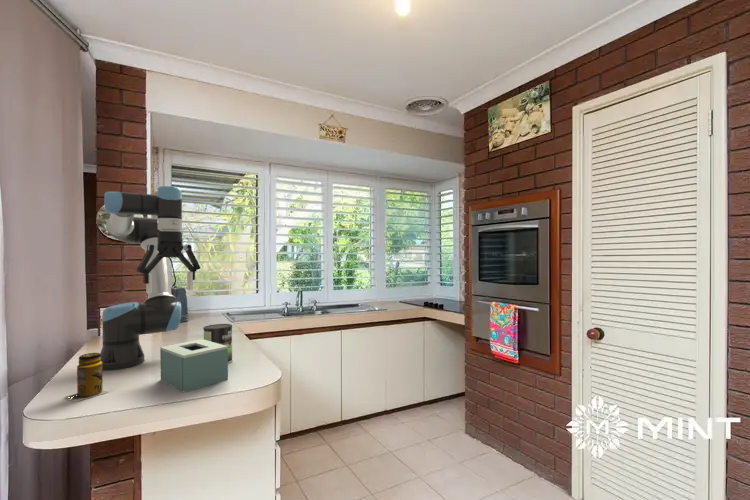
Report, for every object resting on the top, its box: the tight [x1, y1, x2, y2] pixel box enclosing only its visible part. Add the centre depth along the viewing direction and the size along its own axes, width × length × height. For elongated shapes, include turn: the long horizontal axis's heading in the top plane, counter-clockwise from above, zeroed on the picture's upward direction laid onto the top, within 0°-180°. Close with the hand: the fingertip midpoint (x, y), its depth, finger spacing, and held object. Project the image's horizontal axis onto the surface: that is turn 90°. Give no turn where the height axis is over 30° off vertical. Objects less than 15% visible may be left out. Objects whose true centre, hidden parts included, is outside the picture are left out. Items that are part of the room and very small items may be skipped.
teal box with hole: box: [159, 338, 229, 393], centre depth 121 cm, size 18×14×11 cm
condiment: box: [63, 352, 109, 403], centre depth 110 cm, size 7×8×12 cm
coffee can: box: [202, 323, 233, 365], centre depth 141 cm, size 10×10×14 cm
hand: (170, 291), depth 128 cm, fingers open, 13 cm apart
